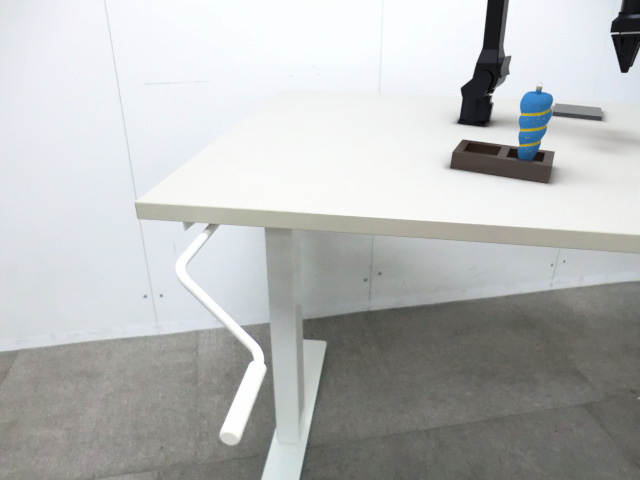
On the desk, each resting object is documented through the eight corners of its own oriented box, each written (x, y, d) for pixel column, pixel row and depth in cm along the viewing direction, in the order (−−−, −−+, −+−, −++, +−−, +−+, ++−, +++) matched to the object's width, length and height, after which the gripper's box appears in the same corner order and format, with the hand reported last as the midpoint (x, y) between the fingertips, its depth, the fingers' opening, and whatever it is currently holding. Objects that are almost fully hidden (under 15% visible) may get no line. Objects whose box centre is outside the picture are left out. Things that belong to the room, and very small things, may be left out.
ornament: (535, 178, 81) (556, 86, 74) (503, 172, 84) (521, 83, 77) (540, 169, 85) (561, 81, 78) (510, 164, 88) (528, 78, 81)
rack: (548, 183, 79) (552, 166, 78) (449, 168, 85) (452, 151, 84) (550, 167, 86) (554, 151, 85) (460, 154, 92) (462, 139, 91)
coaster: (552, 115, 121) (553, 111, 121) (554, 106, 130) (555, 103, 130) (601, 120, 117) (602, 116, 117) (600, 111, 126) (601, 107, 125)
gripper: (699, -27, 76) (676, 76, 83) (698, -25, 90) (678, 64, 96) (618, -20, 82) (602, 76, 89) (628, -19, 96) (614, 64, 102)
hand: (626, 69), depth 94 cm, fingers open, 9 cm apart
